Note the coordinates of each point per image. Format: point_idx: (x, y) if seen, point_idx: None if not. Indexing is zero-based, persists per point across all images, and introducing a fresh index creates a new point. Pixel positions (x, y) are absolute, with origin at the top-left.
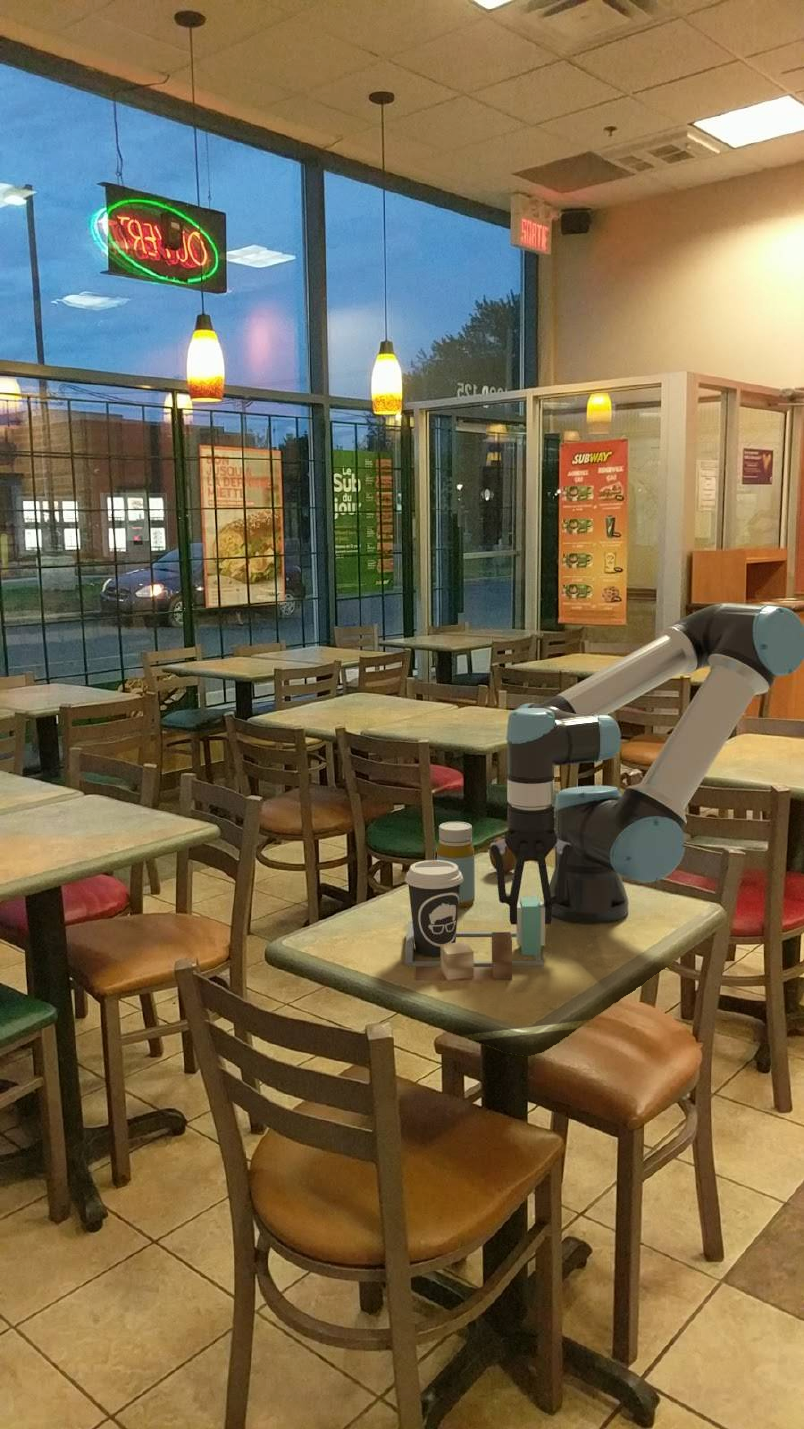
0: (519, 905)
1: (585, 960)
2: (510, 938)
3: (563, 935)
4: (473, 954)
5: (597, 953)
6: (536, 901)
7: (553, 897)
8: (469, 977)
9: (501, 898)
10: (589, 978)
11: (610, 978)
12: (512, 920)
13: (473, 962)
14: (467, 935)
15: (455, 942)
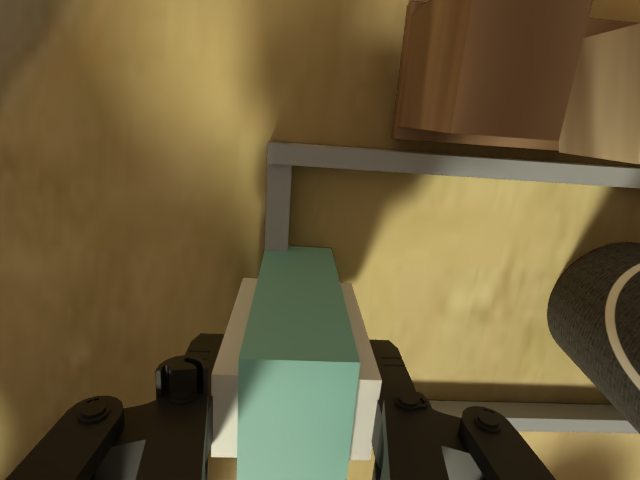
0: (362, 410)
1: (101, 226)
2: (476, 21)
3: None
4: (632, 26)
5: (53, 285)
6: (256, 438)
7: (134, 437)
8: None
9: (500, 426)
10: (92, 51)
11: (4, 44)
12: (387, 351)
13: (602, 34)
14: None
15: (577, 312)
